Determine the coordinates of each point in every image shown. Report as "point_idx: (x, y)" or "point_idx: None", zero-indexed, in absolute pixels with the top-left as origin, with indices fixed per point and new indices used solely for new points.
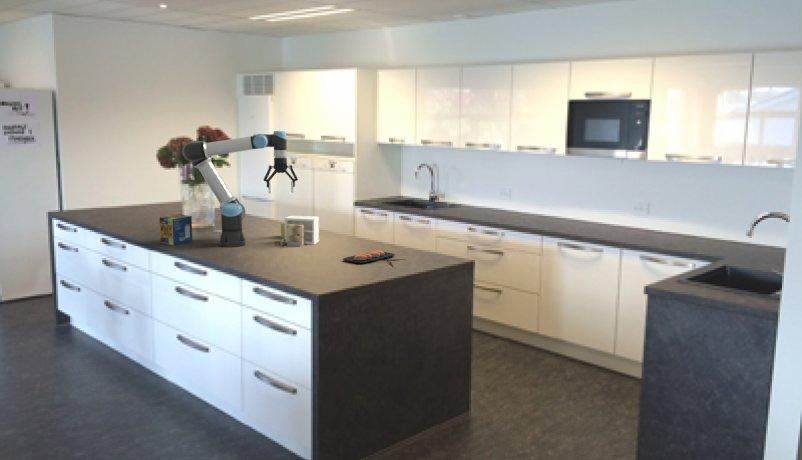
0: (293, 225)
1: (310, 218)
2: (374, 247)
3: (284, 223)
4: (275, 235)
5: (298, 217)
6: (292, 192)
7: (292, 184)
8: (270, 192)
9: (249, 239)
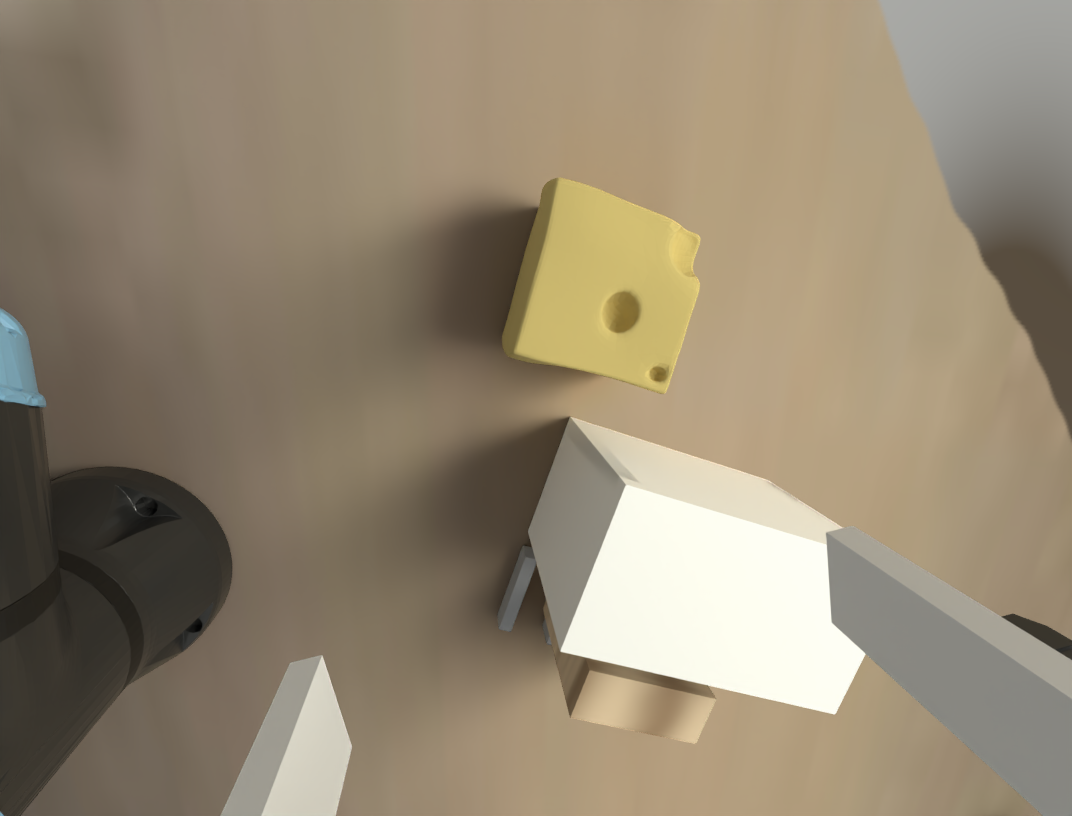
0: (626, 729)
1: (810, 674)
2: None
3: (548, 363)
4: (448, 176)
5: (705, 613)
6: (842, 623)
7: (1024, 781)
8: (344, 762)
9: (230, 355)
